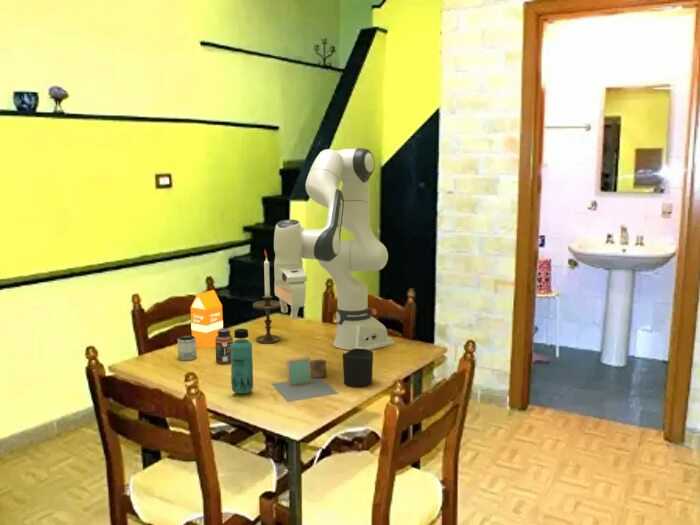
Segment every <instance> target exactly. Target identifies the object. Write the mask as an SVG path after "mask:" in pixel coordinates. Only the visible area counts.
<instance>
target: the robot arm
mask: <svg viewBox="0 0 700 525" xmlns="http://www.w3.org/2000/svg"><path fill="white" fill-rule="evenodd" d="M375 164H376V163H375V157H374V155H373V153H372V152H371V151H370V150H369V149H367V148H364V147H357V148H343V149H341V150H340V149H339V150H335V149H329V148H327V149H323V150H322V151H320V152H319V154H318V155H317V156H316V157H315V159H314V161H313V162H312V165H311V166H310V169H309V172H308V175H307V178H306V180H305V192H306V193H307V195H308V196H309V198H310V199H311V200H312V201H313V202H314V203H316V204H318V205H320V206H323V207H325V208H327V209H328V210H327V217H326V224H325V227H323V228H319V229H317V228H316V229H315V228H313V229H312V228H304V227H302V226H301V222H300V221H299V220H297V219H283V220H280V221H279V222H277V223H276V225H275V229H274V234H273V235H274V236H273V250H274V255H275V256H274V262H273V264H274V265H273V266H274V267H273V269H274V273H273V275H274V286H273V287H274V295H275V297H277V298H278V299H279V301H280V304H281V307H280V312H282V313H283V314H285V313H286V314H287V313H288V312H289V311H288V310H289V307H288V305H289V306H290V310H291V311H290V316H289V317H290V319H292V320H297V319H298V313H299V309H300V308H302V307H304V306H305V303H306V283H305V282H307V281H308V275H307V273H306V272H305V270H304V266H303V263H304V262H303V259H305V260H306V259H307V260H317V261H318V263H319V265H320V267H321V268H323V269H324V270H325V271H326V272H327V273H328V274H329V275H330V276H331V278H332V280H333V281H334V284H335V287H336V296H337V298H336V299H337V306H336V312H335V318H336V320H335V321H336V330H335V335H334V336H335V337H334V340H333V343H332V344H333V346H334V347H336V348H337V349H340V350H341V349H342V350H347V351H350V350H352V349H367V350H370V351H372V350H376V349H381V348H384V347H385V348H386V347H390V346H393V345H394V339H393V338H392V337H390V336H388V329H387V328H386V326H385V325H384V324H383V323H381V322H380V321H379V320H377V319H376V318H375V317H373V316H372V315H374V316H375V315H377V313H378V312H377V310H376V309H375V308H372V307H369V306H368V293H369V292H368V287H367V285H366V284H365V283H364V282H363V281H361V280H359V279H357V278H355V276H354V275H353V274H352V272H353V271H354V272H373V271H379V270H382V269H384V268H385V266H386V265H387V263H388V260H389V253H388V249H387V248H386V245H384V243H383V242H381V241H380V240H379V239H378V238H377V237H376V235H375V234H374V232H373V228H372V227H371V218H370V212H371V211H370V210H371V192H370V183H369V179H370V177H371V176H372V174H373V172H374V170H375V166H376V165H375ZM341 182H342V185H341ZM340 185H341V190H340ZM342 228H343V229H344V230H346V231H348V232H350V233H352V234H353V235H354V240H341V233H342Z"/></svg>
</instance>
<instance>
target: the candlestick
mask: <svg viewBox="0 0 700 525" xmlns="http://www.w3.org/2000/svg"><path fill="white" fill-rule="evenodd" d="M264 256H265V260H264V262H263V268H264V269H263V270H264V271H263V272H264V273H263V274H264V277H263V278H264V295H262V298H263V299H264V300H258V301H255V302H253V303H252V307H253V308H254V309H257V310H263V311H265V320H264V324H265V327H264V328H265V330H266V333H265V334H263V335H259V336H258V337H256V343H258V344H262V345H271V344H273V345H274V344H277V343H279V342H281V336H279V335H277V334H271V329H272V326H271V324H272V322H273V321H272V319H271V317H270V316H271V314H270V313H271V312H270V311H272V310H277V309H281V304H280V300H273V299H272V300H271V298H274V297H273V296H272V295H271V286H270V285H271V284H270V278H271V277H270V261H268V254H267V251H266V249H264Z"/></svg>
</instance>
